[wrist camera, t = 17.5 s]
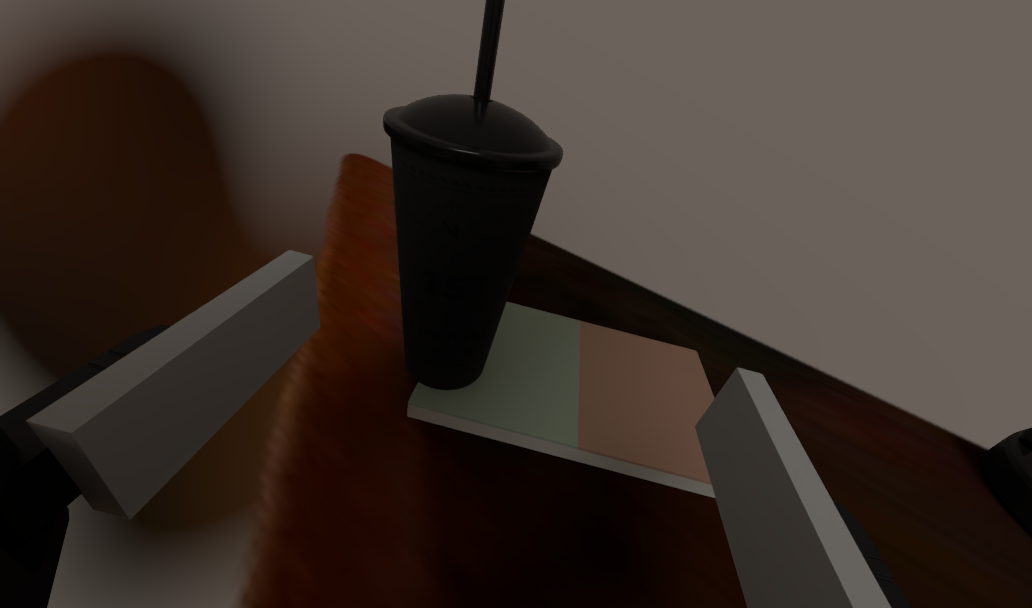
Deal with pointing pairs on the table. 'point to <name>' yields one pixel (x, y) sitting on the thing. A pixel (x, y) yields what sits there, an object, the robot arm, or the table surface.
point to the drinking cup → (462, 216)
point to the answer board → (584, 398)
